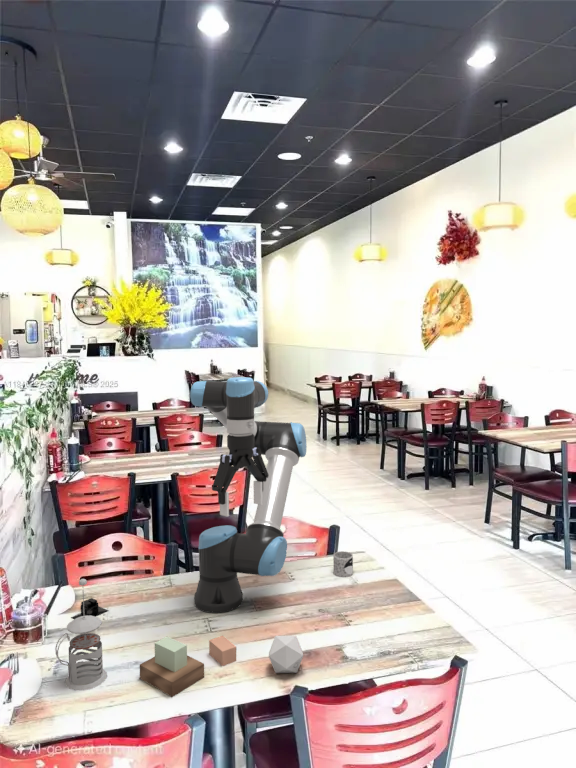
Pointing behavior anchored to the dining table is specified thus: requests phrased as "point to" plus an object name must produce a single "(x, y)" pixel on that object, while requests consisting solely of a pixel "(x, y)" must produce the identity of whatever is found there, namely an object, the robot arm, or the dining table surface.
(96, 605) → the black angular piece
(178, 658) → the sage brick
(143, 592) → the dining table surface
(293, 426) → the robot arm
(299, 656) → the die
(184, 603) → the dining table surface
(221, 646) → the terracotta brick
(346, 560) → the mug
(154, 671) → the walnut slab
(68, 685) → the french press
